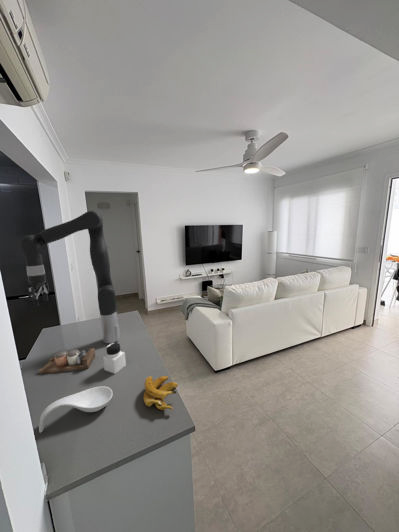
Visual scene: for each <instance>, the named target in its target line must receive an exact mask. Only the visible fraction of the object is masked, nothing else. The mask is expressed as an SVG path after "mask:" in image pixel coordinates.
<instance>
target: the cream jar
mask: <svg viewBox="0 0 399 532" xmlns="http://www.w3.org/2000/svg"><path fill="white" fill-rule="evenodd" d="M67 352H68V353H67V361H68V366H77V365H78V364H77V357H78V354H79V353H80V351H79V349H71V350H70V351H67Z"/></svg>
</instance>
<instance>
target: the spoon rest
mask: <svg viewBox="0 0 399 532" xmlns="http://www.w3.org/2000/svg"><path fill="white" fill-rule="evenodd" d="M113 394H114V392H113V390H112V388H110V386H109V387H108V386H104V385H102V386H94V387H91V388H88V389H85V390H82V391H80V392H77V393H73V394H70V395H67V396H64V397H62V398H59V399H57V400H55V401H54V402H52V403H51V404H49V405H48V406H47V407H46V408H45V409H43V411H42V413H41V415H40V417H39V426H38V432H39V434H40V433H42V432H43V431H44V430H45V429H44V428H45V420H46V418H47V417H48V415H49V414H50V413H52V412H53V411H54V410H56V409H58V408H61V407H66V406H67V407H72V408H75V409H77V410H79V411H82V412H85V413H95V412H98V411H100V410H102V409H103V408H104V407H106V406H107V405H108V404H109V403H110V402H111V400H112V398H113Z"/></svg>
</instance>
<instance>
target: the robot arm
mask: <svg viewBox="0 0 399 532" xmlns="http://www.w3.org/2000/svg"><path fill="white" fill-rule="evenodd" d="M103 225H104V223H103V217H102V216H101V215H100V213H98V212H97V211H94V210H87V211H86V212H84V213H83V214H81V215H79V216H77V217H76V218H73V219H71V220H69V221H66V222H63V223H61V224H58V225H54V226H51V227H49V228H45V229H43V230H41V232H38V233H35V234H34V233H33V234H30V235H24V236H22V237H21V238H20V240H19V241H20V242H19V246H20V249H21V251H22V254H23V257H25V260H24V261H25V265H26V275H27V281H28V284H29V285H31V287H27V290H26V291H27V296H28V300H32V306H33V307H39V306H40V304H39V296H40V295H41V294H42V295H41V296H42V300H43V302H47V301H49V296H48V294H49V292H50V291H51V289H50V285H49V282H48V281H47V276H46V271H45V266H44V261H43V256H42V254H40V253H39V248H41V247H43V246H45V245H48V244H50V243H53V242H56V241H59V240H62V239H64V238H66V237H68V236H71V235H72V234H74V233H77V232H80V231H84V230H87V231H88V236H89V256H90V257H89V258H90V262H91V265H92V269H93V271H94V273H95V276H96V279H97V303H98V310H99V317H100V325H101V335H102V342H103V343H104V344H112V343H117V342H119V341H120V338H121V330H120V322H119V319H118V308H117V300H116V299H117V298H116V290H115V287H114V285H113V282H112V278H111V266H110V264H111V263H110V257H109V251H108V249H107V244H106V239H105V236H104V226H103Z"/></svg>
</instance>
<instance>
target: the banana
mask: <svg viewBox="0 0 399 532" xmlns="http://www.w3.org/2000/svg"><path fill="white" fill-rule="evenodd" d="M168 379H169V377H168V376H167V375H164V376H163V375H162V376H159V377H157V378H156V379H153V376H147V377H146V379H145V381H144V389H145V390H144V393H143V401H144V404H145V406H147V407H151V406H152V405H153V404H154V405H155V407H156V409H159V410H161V411H164V410H166V409H169V410H172V411H174V407H173V405H168V404H167V403H166V402H165V400H164V398H166V397H168V396H169V395H171V394H172V395H173V394H177V391H176V390H174V389H176V388H178V383H177V382H173V381H170V382H166V381H168ZM165 382H166V383H165ZM164 383H165V384H164ZM174 386H175V387H174Z"/></svg>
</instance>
